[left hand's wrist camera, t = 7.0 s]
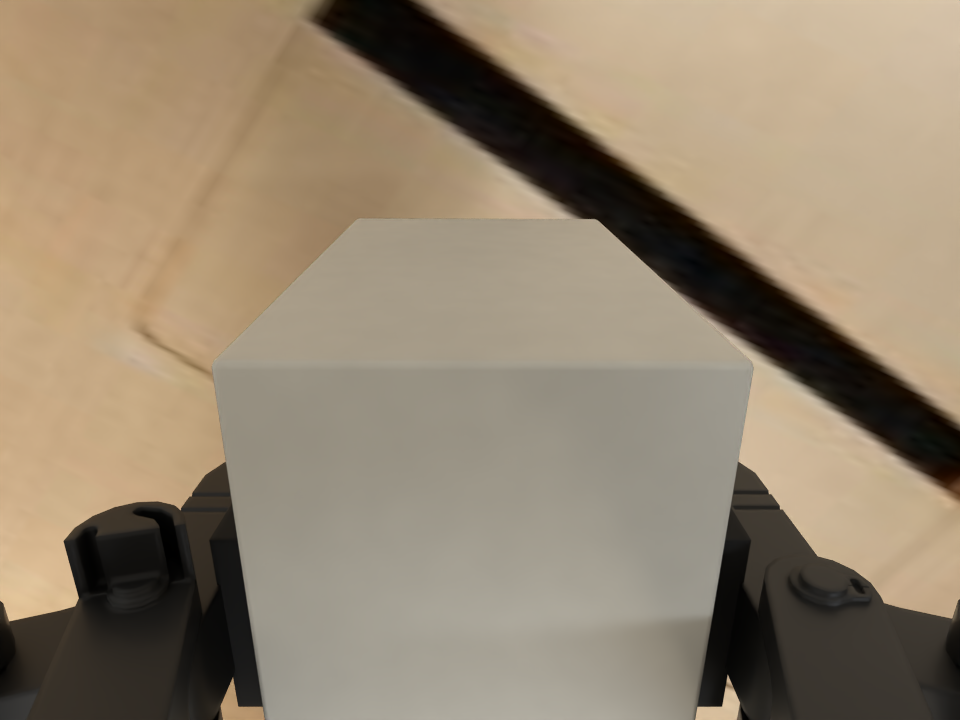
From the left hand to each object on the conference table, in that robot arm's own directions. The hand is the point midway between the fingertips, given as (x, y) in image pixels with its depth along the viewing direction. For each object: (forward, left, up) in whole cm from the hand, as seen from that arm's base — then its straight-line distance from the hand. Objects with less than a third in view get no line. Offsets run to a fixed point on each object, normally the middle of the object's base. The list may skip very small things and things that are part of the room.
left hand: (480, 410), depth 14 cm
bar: (+10, +30, 0) cm, 31 cm away
